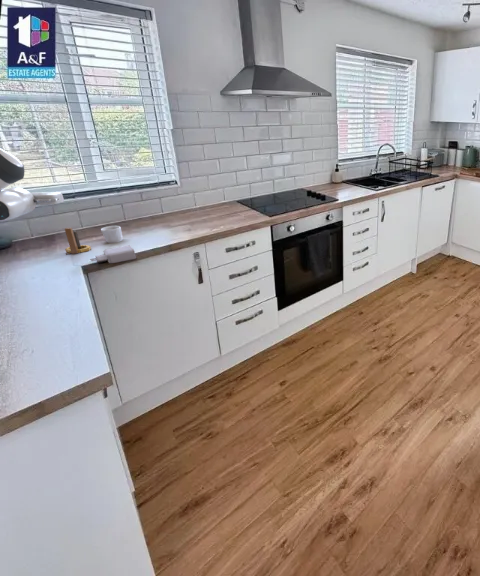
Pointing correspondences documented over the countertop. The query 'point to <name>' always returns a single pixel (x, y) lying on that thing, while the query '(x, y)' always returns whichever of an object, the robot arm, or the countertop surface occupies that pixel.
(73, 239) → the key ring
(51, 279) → the countertop surface
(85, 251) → the stand
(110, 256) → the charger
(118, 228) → the cup
